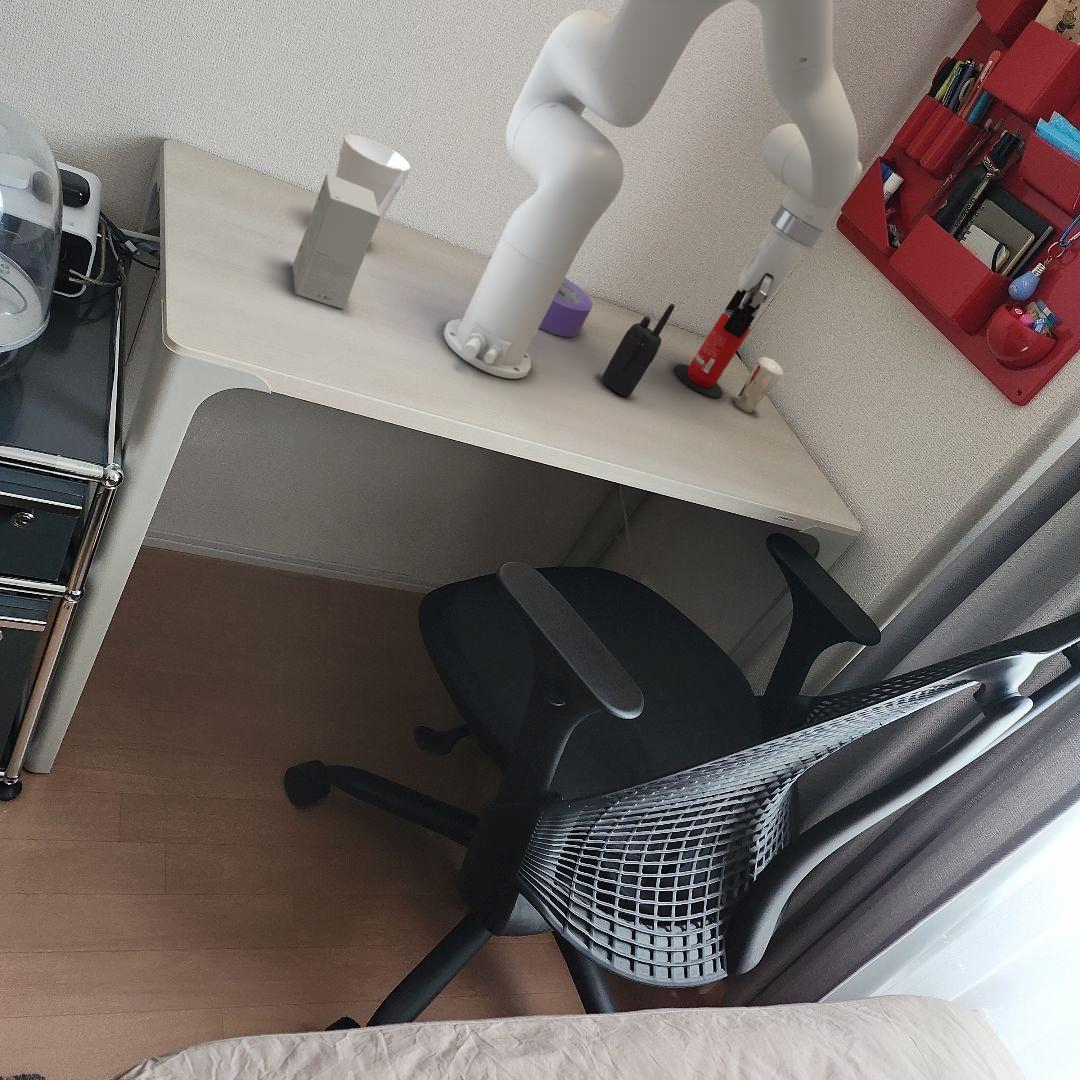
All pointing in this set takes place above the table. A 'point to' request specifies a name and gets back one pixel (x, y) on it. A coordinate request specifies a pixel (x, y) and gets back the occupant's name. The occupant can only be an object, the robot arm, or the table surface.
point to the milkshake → (759, 383)
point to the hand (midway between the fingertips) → (732, 324)
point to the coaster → (709, 392)
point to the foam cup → (372, 169)
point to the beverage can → (715, 353)
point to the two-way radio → (634, 355)
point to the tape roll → (567, 310)
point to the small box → (335, 241)
